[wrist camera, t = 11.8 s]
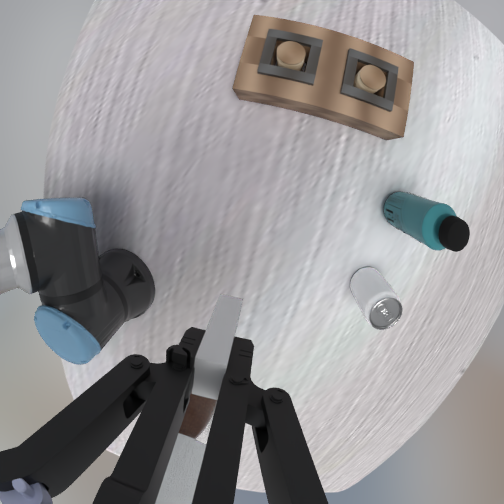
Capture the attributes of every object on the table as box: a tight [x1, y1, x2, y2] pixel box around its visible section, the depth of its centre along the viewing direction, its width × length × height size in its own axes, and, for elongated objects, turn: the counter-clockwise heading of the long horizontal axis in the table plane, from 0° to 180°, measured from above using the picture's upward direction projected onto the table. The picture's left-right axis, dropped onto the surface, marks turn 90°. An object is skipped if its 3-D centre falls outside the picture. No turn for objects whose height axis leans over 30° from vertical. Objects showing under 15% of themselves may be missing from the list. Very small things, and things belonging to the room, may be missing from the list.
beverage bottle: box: [384, 192, 470, 252], centre depth 33 cm, size 6×7×20 cm
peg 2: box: [353, 65, 386, 94], centre depth 33 cm, size 4×4×8 cm
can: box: [350, 267, 402, 330], centre depth 42 cm, size 6×6×12 cm
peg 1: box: [277, 41, 306, 71], centre depth 33 cm, size 4×4×8 cm
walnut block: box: [232, 15, 414, 140], centre depth 34 cm, size 26×14×8 cm, turn 77°
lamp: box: [155, 391, 217, 504], centre depth 43 cm, size 19×19×37 cm
